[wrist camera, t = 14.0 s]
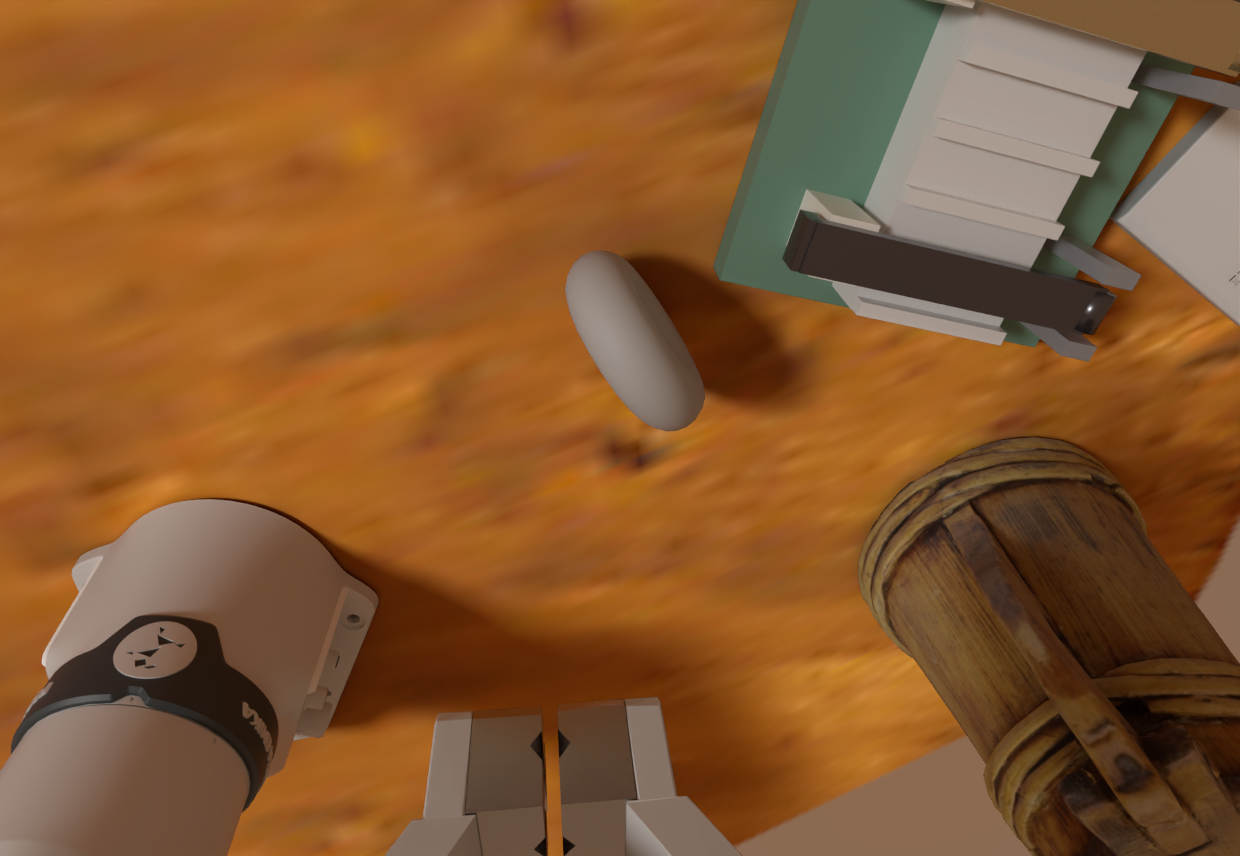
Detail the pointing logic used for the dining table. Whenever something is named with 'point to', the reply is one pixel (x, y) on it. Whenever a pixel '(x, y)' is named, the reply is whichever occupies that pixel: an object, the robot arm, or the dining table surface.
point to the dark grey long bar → (944, 276)
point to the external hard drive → (1195, 209)
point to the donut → (633, 341)
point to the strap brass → (1151, 26)
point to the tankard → (1063, 652)
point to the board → (855, 129)
